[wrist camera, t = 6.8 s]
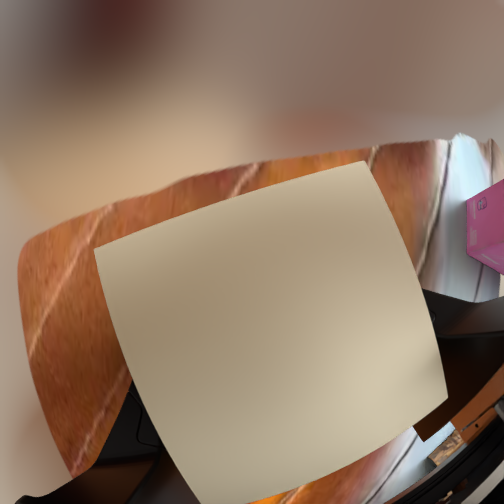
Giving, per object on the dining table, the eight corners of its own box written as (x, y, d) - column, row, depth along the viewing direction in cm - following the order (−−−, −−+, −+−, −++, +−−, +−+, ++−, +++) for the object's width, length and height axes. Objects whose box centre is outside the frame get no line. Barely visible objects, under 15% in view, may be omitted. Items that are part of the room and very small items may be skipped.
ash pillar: (303, 345, 16) (448, 397, 4) (222, 376, 15) (207, 511, 3) (272, 266, 16) (364, 160, 5) (192, 296, 16) (94, 249, 4)
